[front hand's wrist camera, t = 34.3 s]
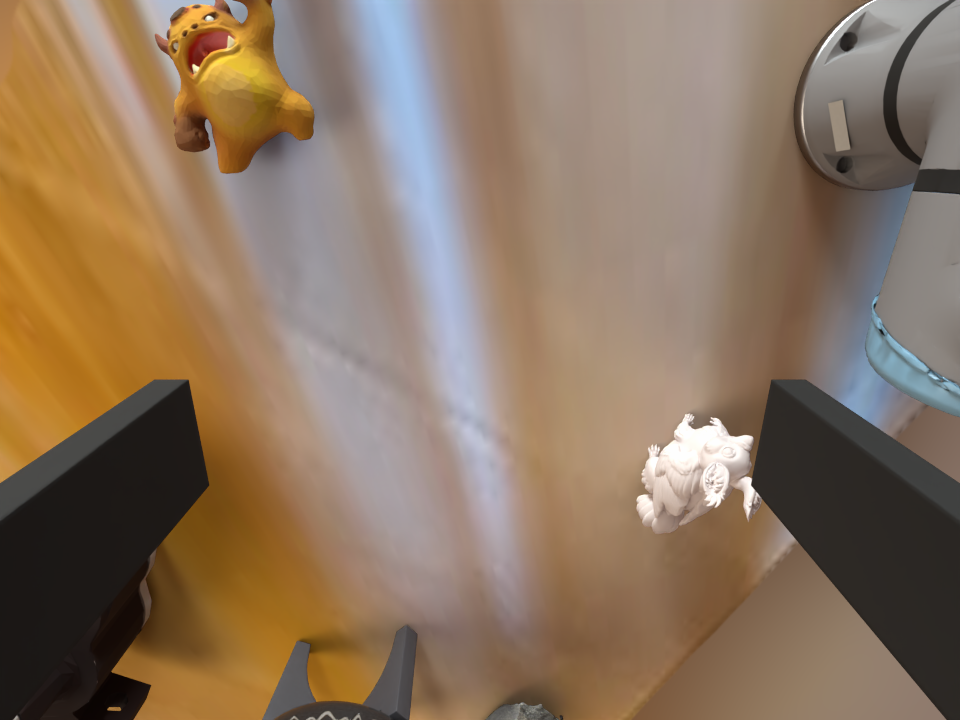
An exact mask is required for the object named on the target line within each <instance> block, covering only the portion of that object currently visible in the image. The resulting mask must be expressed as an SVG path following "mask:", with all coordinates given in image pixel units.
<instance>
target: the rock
mask: <svg viewBox="0 0 960 720" xmlns="http://www.w3.org/2000/svg"><path fill="white" fill-rule="evenodd" d="M520 707H521V709H519V708H520ZM560 719H561V720H563V716H562V715H560ZM486 720H559V719H558V718H555V716H554V715H552V714H551V713H549V712H548V711H547V710H546V709H544V708H543V706H542V704H538V705H537V706H531V705H529V706H528V705H527V704H525V703H524V702H522V703H520V704H517V703H516V704H514V705H509V704H504V705H503V706H501V707H499V708H498V709H497V710H496V711H494V712H493V713H492V714H491V715H490V716H489V717H488V718H487V719H486Z"/></svg>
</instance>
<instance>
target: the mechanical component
mask: <svg viewBox="0 0 960 720" xmlns="http://www.w3.org/2000/svg"><path fill="white" fill-rule="evenodd" d="M156 550H157V548H156ZM156 550H155V551H154V552H153V553H152V554H151V556H150V557H149V558H148V559H147V560H146V562H145V563H144V564H143V565H142V566H141V568H140V569H139V570H138V571H137V572H136V574H135V575H134V576H133V577H132V578H131V579H130V581H129V582H128V583H127V584H126V585H125V587H124V588H123V589H122V590H121V591H120V593H119V594H118V595H117V596H116V597H115V599H114V600H113V601H112V602H111V603H110V605H109V606H108V607H107V608H106V609H105V611H104V612H103V613H102V614H101V615H100V617H99V618H98V619H97V620H96V621H95V623H94V624H93V625H92V626H91V627H90V629H89V630H88V631H87V632H86V633H85V635H84V636H83V637H82V638H81V639H80V641H79V642H78V643H77V644H76V645H75V647H74V648H73V649H72V650H71V651H70V653H69V654H68V655H67V656H66V657H65V659H64V660H63V661H62V662H61V663H60V664H59V666H58V667H57V668H56V669H55V670H54V672H53V673H52V674H51V675H50V676H49V678H48V679H47V680H46V681H45V682H44V684H43V685H42V686H41V687H40V688H39V690H38V691H37V692H36V693H35V694H34V696H33V697H32V698H31V699H30V700H29V702H28V703H27V704H26V705H25V706H24V708H23V709H22V710H21V711H20V712H19V714H18V715H17V716H16V717H15V718H14V720H133V719H134V718H135V716H136V715H137V713H138V711H139V710H140V708H141V707H142V705H143V703H144V702H145V700H146V698H147V695H148V693H149V690H150V687H151V685H149V684H146V683H143V682H140V681H136V680H133V679H130V678H127V677H124V676H121V675H118V674H115V673H112V672H111V671H112V669H113V668H114V667H115V665H116V664H117V663H118V661H119V660H120V658H121V657H122V656H123V654H124V653H125V652H126V650H127V649H128V647H129V646H130V645H131V643H132V642H133V641H134V639H135V638H136V636H137V635H138V634H139V632H140V631H141V629H142V628H143V626H144V624H145V623H146V621H147V620H148V618H149V616H150V609H151V602H152V601H151V597H150V594H149V590H148V587H147V583H146V580H145V579H146V577H147V575H148V574H149V572H150V570H151V569H152V567H153V565H154V562H155V556H156ZM109 707H120V708H121V711H108V710H107V709H108V708H109Z"/></svg>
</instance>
